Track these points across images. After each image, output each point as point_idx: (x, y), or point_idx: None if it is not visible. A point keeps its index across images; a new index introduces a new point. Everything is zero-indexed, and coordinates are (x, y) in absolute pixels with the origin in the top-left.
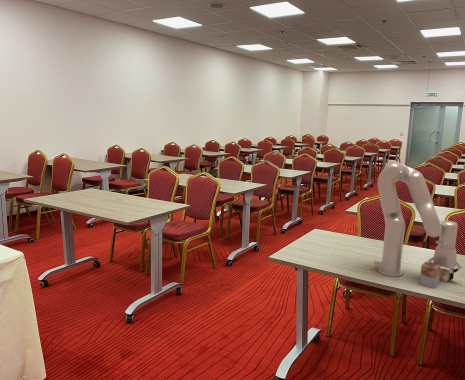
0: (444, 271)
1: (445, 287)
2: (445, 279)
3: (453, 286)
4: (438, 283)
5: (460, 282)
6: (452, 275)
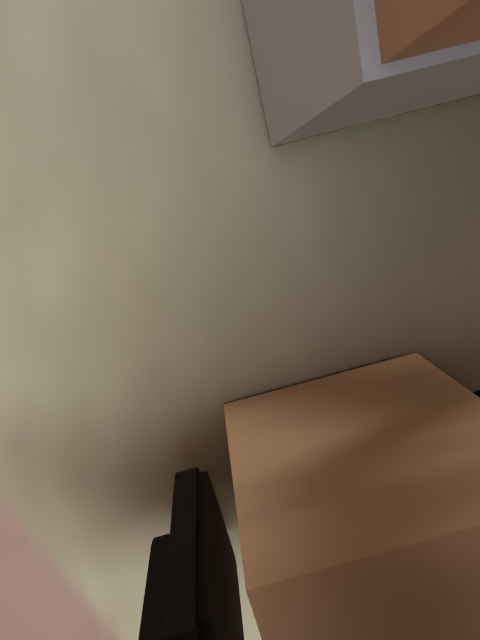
0: (375, 585)
1: (64, 78)
2: (256, 420)
3: (14, 310)
4: (269, 124)
5: (77, 587)
6: (154, 610)
